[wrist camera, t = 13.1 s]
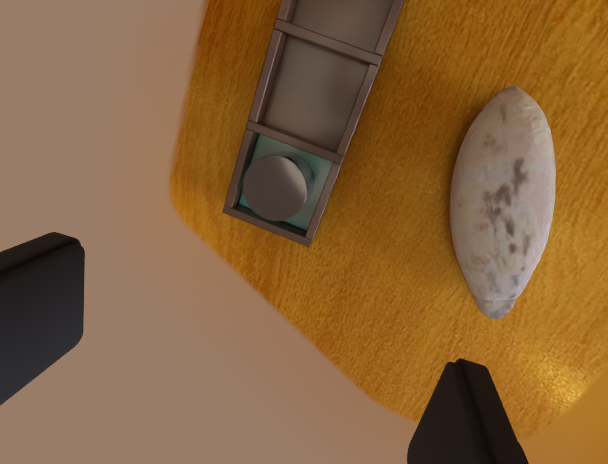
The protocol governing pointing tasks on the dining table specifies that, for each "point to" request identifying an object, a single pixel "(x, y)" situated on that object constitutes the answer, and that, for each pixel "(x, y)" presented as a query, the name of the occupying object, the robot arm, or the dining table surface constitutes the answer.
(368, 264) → the dining table surface
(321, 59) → the divided tray
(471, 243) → the decorative stone
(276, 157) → the dark gray cylinder
